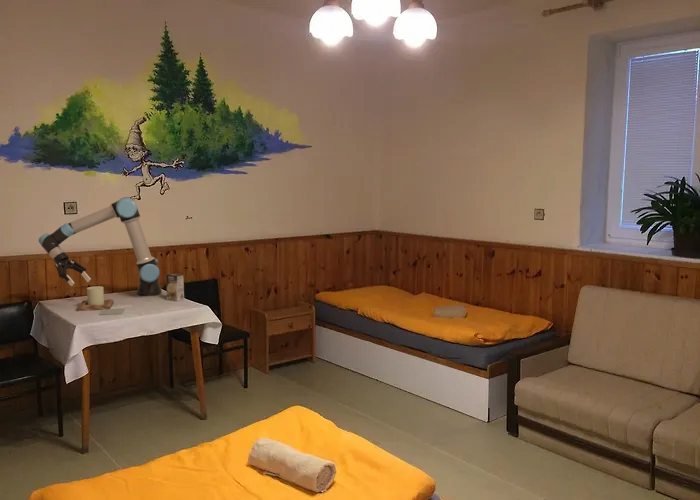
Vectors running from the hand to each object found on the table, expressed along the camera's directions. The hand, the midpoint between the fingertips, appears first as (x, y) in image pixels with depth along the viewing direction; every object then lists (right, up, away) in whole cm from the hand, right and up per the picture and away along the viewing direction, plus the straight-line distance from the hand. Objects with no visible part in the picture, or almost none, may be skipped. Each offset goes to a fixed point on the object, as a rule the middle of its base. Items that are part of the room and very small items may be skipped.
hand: (81, 282), depth 361 cm
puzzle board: (+9, -14, -1) cm, 17 cm away
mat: (+23, -16, -13) cm, 31 cm away
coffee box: (+49, -12, +21) cm, 55 cm away
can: (+9, -14, -1) cm, 17 cm away
